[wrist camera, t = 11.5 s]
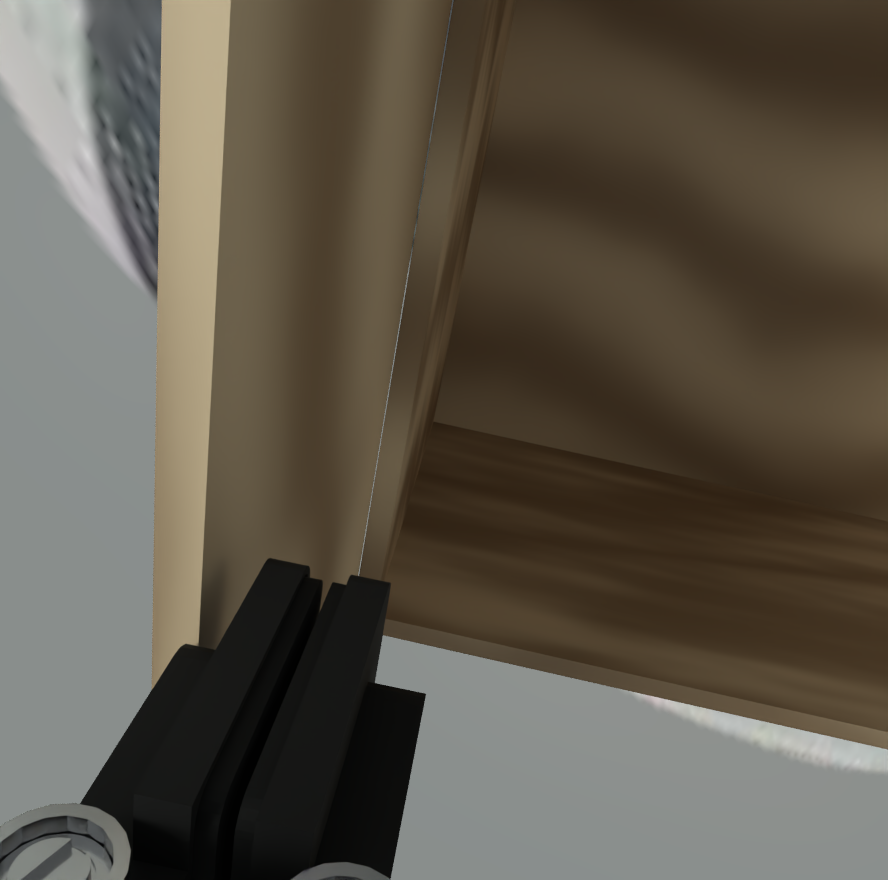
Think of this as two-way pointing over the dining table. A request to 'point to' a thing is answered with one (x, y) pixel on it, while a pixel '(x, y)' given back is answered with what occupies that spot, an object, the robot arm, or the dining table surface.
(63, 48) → the dining table surface
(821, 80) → the carton
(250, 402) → the flap
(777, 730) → the dining table surface
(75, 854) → the robot arm
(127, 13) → the dining table surface
